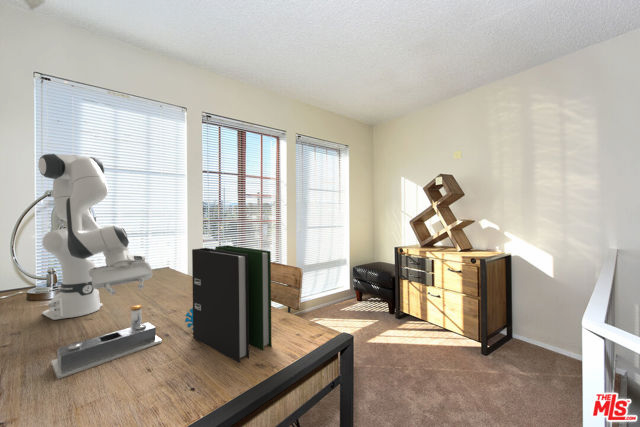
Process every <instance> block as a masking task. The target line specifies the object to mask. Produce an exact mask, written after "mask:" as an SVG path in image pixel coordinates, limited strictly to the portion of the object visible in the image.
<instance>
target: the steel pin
mask: <svg viewBox="0 0 640 427" xmlns="http://www.w3.org/2000/svg"><path fill="white" fill-rule="evenodd" d="M142 308H143V305H142V304H136V305H135V304H134V305H131V306H130V307H129V309H130V322H131V324H130V327H134V326H137V325H140V324H143V323H142Z"/></svg>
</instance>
